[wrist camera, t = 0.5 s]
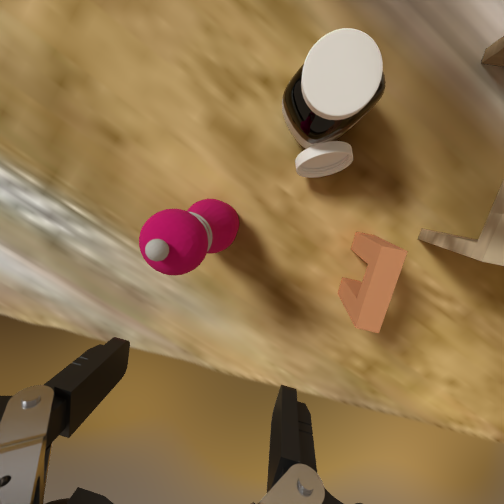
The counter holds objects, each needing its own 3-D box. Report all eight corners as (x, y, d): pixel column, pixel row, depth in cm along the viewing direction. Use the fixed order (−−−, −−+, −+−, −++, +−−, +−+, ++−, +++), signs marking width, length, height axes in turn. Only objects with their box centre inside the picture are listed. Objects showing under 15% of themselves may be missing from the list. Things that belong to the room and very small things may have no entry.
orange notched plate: (356, 231, 36) (382, 245, 26) (374, 235, 36) (407, 251, 26) (337, 293, 39) (355, 327, 29) (355, 297, 38) (378, 333, 29)
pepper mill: (252, 221, 38) (217, 251, 18) (221, 255, 40) (160, 315, 20) (216, 187, 37) (141, 182, 18) (186, 223, 39) (90, 254, 20)
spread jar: (342, 59, 32) (372, -13, 21) (387, 138, 33) (439, 111, 22) (262, 122, 35) (251, 88, 23) (307, 192, 36) (317, 192, 25)
